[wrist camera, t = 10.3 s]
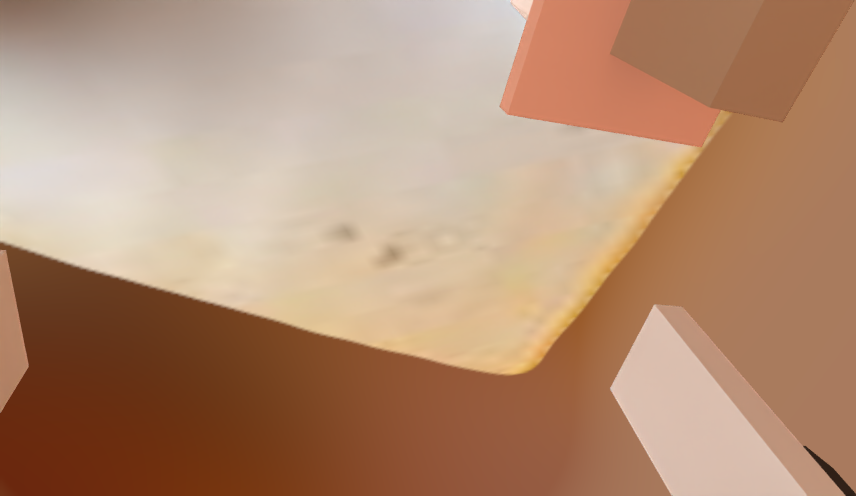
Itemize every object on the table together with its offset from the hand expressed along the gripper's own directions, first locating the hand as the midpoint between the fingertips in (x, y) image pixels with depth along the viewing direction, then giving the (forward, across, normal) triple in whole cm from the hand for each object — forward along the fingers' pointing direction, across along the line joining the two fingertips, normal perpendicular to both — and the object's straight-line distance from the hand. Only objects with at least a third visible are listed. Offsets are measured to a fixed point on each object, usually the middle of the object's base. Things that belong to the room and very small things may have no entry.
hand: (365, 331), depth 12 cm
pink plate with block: (+20, +15, +6) cm, 26 cm away
